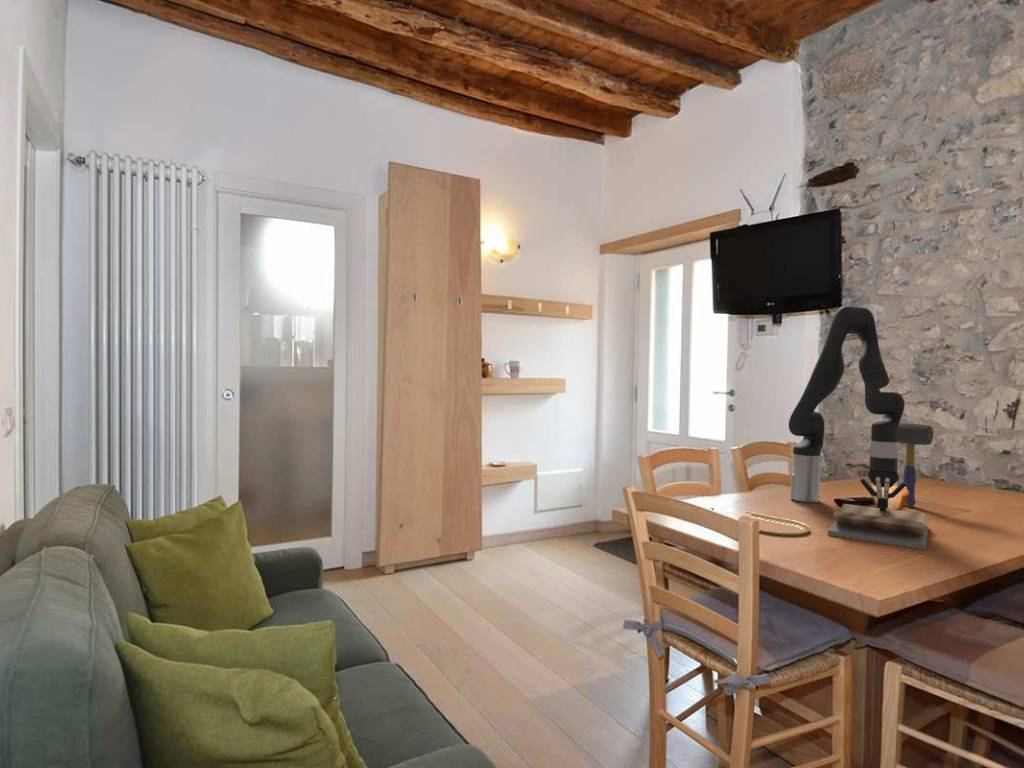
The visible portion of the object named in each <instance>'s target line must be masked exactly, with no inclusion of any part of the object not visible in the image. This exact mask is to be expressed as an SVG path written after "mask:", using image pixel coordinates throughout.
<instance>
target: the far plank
mask: <svg viewBox="0 0 1024 768" xmlns="http://www.w3.org/2000/svg"><path fill="white" fill-rule="evenodd" d="M840 512H847V513H855V514H863V515H871V516H878V517H886V518H894V519H902V520H909V521H917V522H923V527H924V523H925V513H922V512H914V511H907V510H899V509H898V510H897V509H890V508H887V509H885V511H883V510H880V508H878V507H873V506H866V505H865V506H864V505H858V504H857V505H856V504H848V503H843V504H842V507H841V509H840Z"/></svg>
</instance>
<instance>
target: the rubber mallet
mask: <svg viewBox="0 0 1024 768" xmlns="http://www.w3.org/2000/svg"><path fill="white" fill-rule="evenodd" d="M933 439H934V430H933V427H932V426H931V425H927V424H921V423H919V424H918V423H911V422H910V423H909V422H908V423H906V422H900V423H899V426H898V429H897V443H901V444H906V450H905V451H906V452H905V466H904V469H903V476H902V477H903V478H902V481H903V482H906V487H907V489H908V491H909V498H908V502H907V506H906V507H907V508H913V507H914V506H915V505H916V498H915V494H916V493H915V491H916V490H915V489H916V482H917V473H916V467H915V454H916V453H915V449H916V448H915V447H916V445H919V446H920V445H922V446H923V445H924V446H929V445H931V444H932V442H933Z"/></svg>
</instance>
